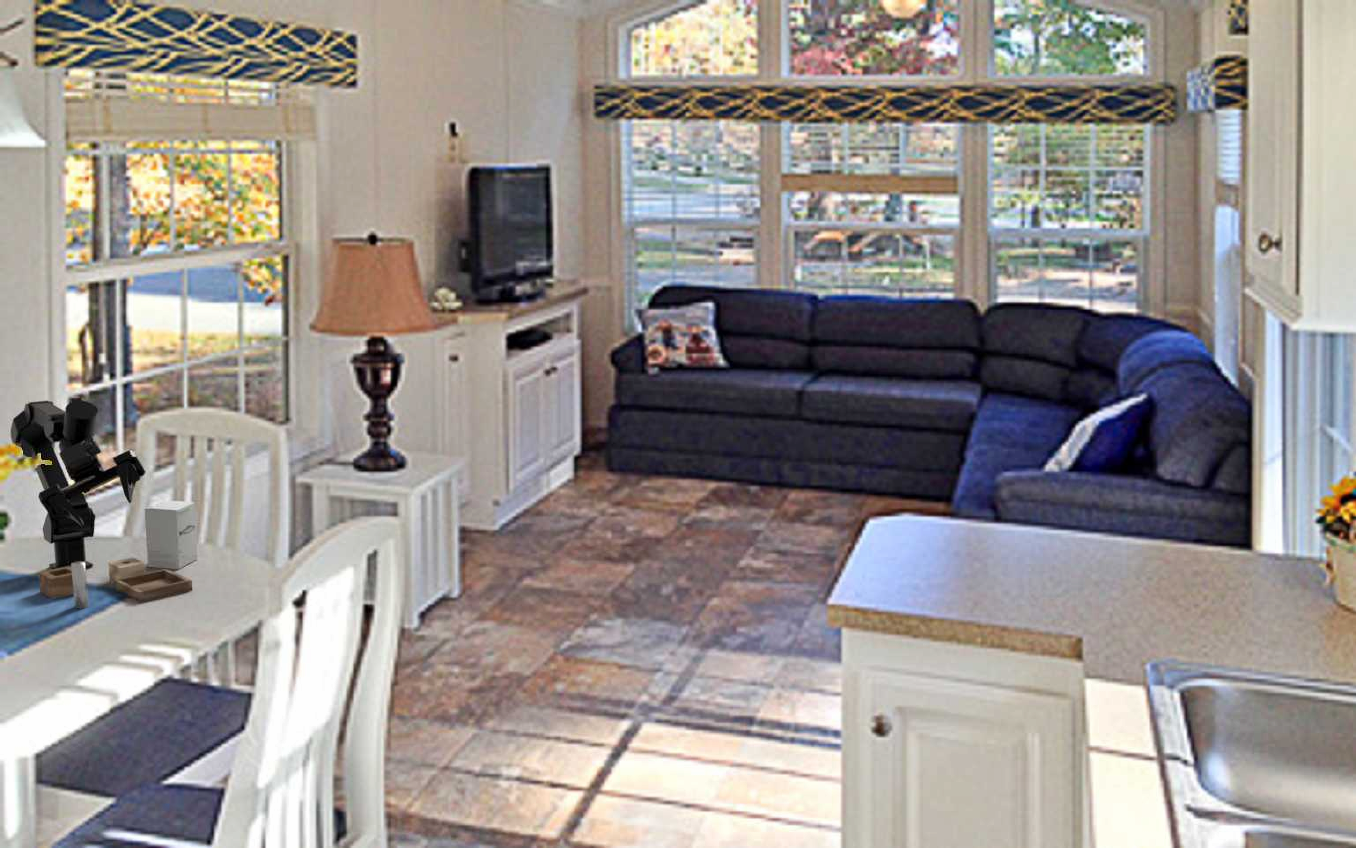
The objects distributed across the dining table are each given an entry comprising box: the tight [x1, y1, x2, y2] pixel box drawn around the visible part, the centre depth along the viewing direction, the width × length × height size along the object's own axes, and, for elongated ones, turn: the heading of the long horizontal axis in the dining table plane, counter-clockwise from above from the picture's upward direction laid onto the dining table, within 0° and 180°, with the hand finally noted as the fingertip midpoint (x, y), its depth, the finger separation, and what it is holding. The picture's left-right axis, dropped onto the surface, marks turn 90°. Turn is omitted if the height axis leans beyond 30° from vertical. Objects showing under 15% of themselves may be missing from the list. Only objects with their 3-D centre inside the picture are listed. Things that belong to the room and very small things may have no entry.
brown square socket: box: [38, 566, 74, 600], centre depth 260 cm, size 6×6×4 cm
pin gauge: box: [71, 561, 89, 609], centre depth 251 cm, size 2×2×8 cm
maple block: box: [107, 557, 146, 584], centre depth 267 cm, size 5×5×4 cm
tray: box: [113, 568, 193, 603], centre depth 262 cm, size 11×11×2 cm
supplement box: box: [144, 500, 198, 570], centre depth 278 cm, size 7×7×13 cm
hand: (106, 513), depth 253 cm, fingers open, 9 cm apart
